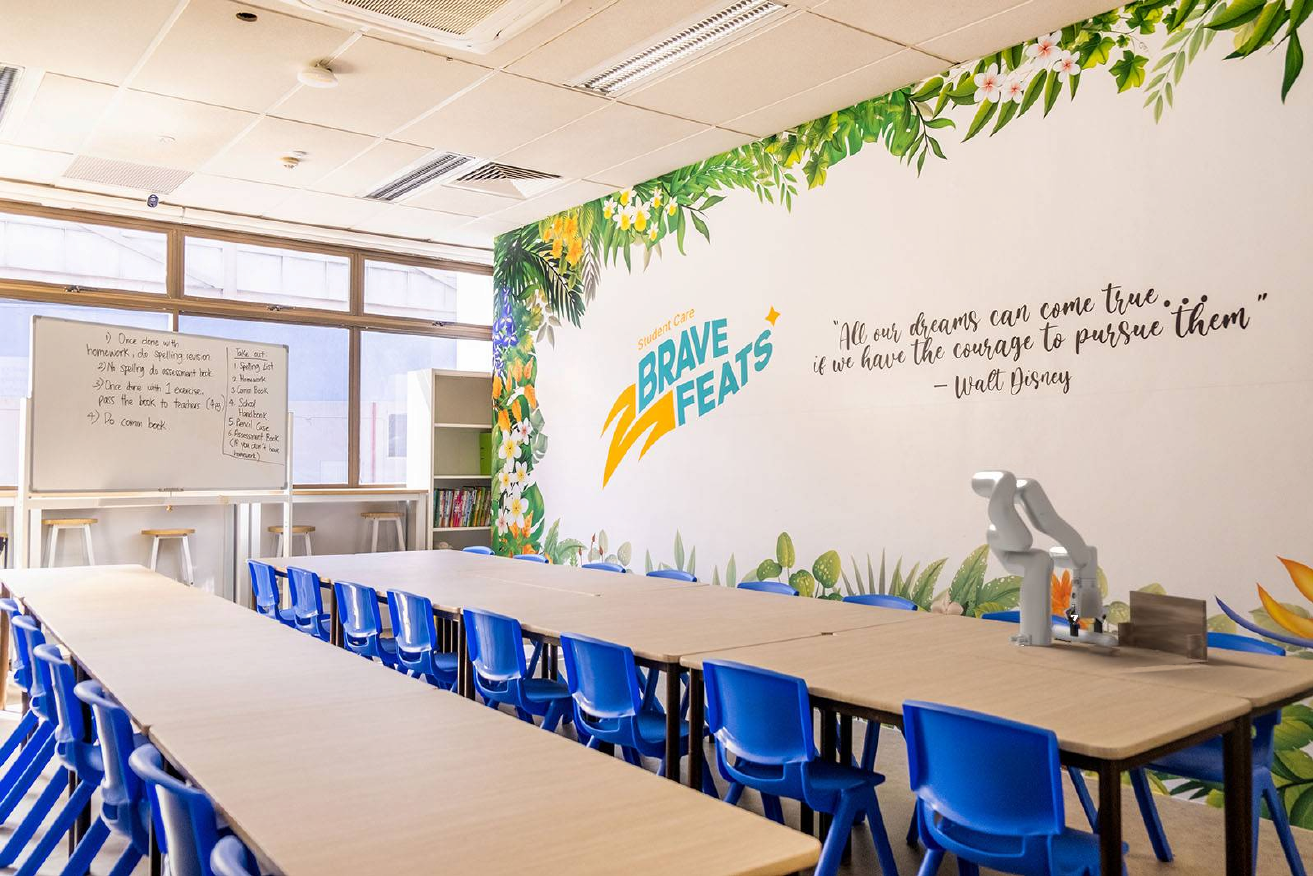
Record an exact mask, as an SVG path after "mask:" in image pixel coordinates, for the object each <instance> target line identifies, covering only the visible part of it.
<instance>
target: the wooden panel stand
mask: <svg viewBox="0 0 1313 876" xmlns="http://www.w3.org/2000/svg"><path fill="white" fill-rule="evenodd" d="M1207 615H1208V614H1207V600H1205V599H1197V598H1190V597H1182V596H1176V595H1168V594H1160V593H1153V592H1146V591H1139V590H1129V621H1125V622H1122V621H1121V622H1117V640H1118V644H1119V645H1126V646H1132V647H1136V646H1138V647H1137V648H1141V647H1142V649H1146V648H1147V649H1146V650H1152V651H1156V650H1159V651H1158V652H1161V651H1162V652H1161V653H1167V654H1172V655H1177V656H1183V657H1186V658H1187V659H1197V660H1201V661H1207V660H1208V628H1207V627H1208V626H1207V625H1208V623H1207V622H1208V620H1207V617H1208V616H1207Z"/></svg>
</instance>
